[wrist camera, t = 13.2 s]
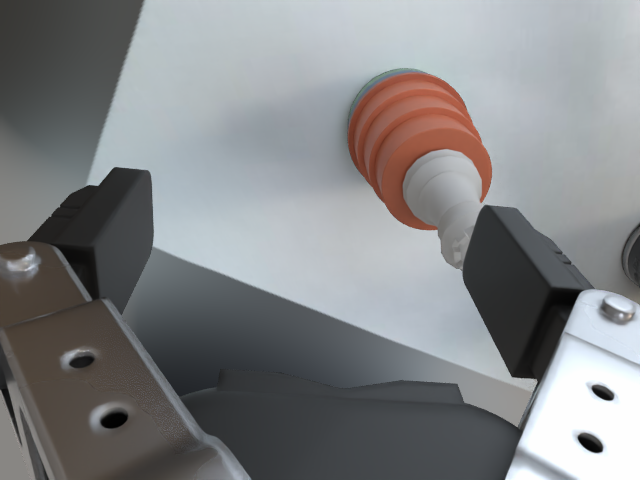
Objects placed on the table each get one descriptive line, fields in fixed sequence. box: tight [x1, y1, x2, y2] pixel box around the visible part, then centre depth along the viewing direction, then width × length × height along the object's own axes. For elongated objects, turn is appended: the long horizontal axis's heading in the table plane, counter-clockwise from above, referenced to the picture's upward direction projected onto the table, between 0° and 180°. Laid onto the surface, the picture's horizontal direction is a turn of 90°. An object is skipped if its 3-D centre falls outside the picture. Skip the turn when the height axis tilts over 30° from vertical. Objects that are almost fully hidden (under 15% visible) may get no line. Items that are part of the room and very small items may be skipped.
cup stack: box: [348, 69, 492, 230], centre depth 35 cm, size 9×9×12 cm
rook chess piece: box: [403, 149, 485, 271], centre depth 26 cm, size 4×4×8 cm
